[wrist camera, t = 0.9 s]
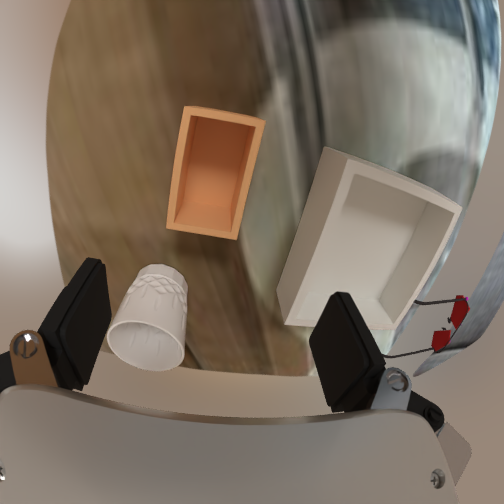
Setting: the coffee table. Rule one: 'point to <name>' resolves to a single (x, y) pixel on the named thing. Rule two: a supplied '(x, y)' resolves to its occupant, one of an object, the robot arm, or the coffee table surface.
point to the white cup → (152, 320)
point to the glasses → (444, 336)
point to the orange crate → (213, 171)
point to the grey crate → (363, 242)
